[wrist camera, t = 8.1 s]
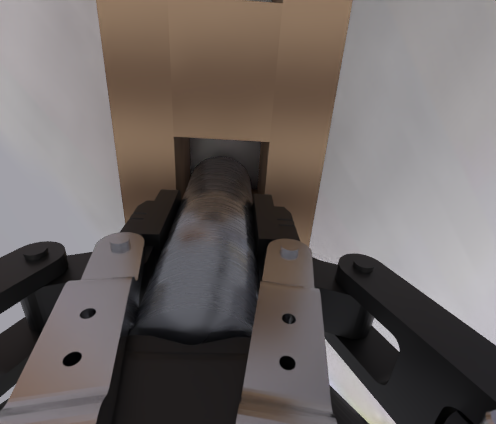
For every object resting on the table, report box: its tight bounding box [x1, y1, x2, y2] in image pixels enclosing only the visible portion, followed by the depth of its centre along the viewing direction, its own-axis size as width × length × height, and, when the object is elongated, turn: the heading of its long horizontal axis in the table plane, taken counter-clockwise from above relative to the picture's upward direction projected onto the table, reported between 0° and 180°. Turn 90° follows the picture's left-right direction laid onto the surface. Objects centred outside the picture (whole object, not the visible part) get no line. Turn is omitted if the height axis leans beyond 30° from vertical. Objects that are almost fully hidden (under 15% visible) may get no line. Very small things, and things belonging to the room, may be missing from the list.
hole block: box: [96, 0, 353, 247], centre depth 16 cm, size 20×10×5 cm, turn 176°
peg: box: [129, 156, 260, 345], centre depth 11 cm, size 3×3×10 cm
